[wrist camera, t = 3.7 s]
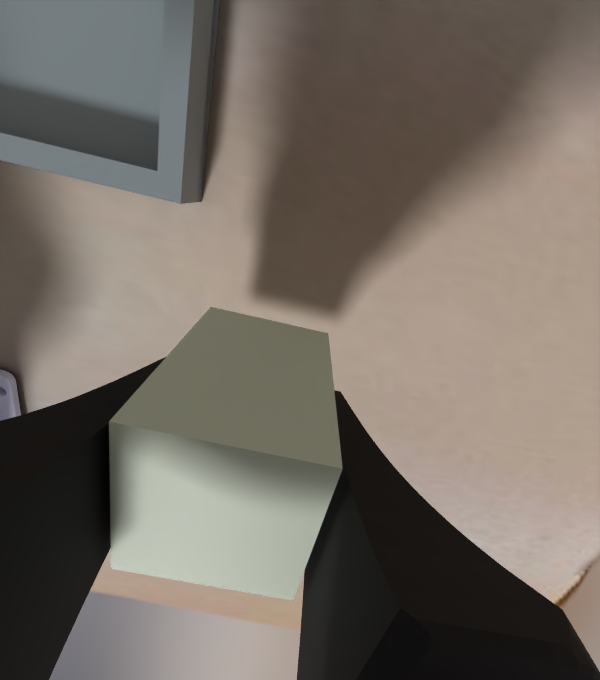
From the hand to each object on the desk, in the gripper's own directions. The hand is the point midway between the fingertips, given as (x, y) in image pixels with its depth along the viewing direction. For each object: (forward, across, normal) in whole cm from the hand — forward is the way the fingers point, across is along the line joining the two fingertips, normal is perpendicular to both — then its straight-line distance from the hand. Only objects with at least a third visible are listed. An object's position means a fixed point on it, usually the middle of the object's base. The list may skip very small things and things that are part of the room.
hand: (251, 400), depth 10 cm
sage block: (+2, 0, 0) cm, 2 cm away
